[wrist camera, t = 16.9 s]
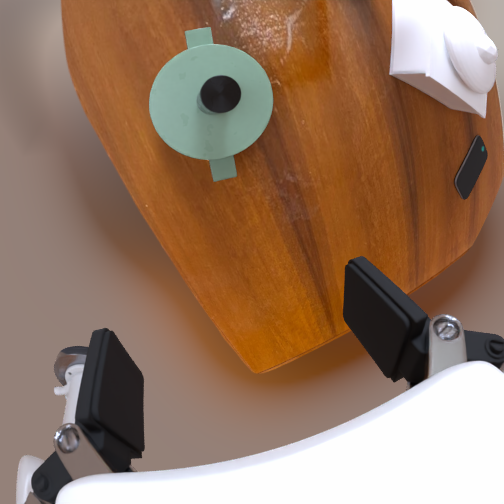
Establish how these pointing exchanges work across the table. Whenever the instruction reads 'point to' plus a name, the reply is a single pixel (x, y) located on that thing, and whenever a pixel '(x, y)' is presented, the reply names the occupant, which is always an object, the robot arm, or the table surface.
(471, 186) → the smartphone
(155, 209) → the table surface
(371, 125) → the table surface
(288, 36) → the table surface
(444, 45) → the white box
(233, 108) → the pot lid
